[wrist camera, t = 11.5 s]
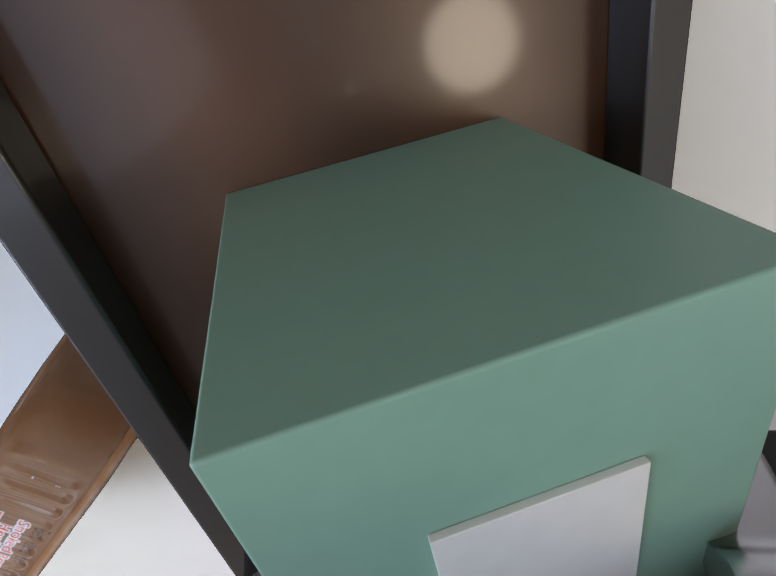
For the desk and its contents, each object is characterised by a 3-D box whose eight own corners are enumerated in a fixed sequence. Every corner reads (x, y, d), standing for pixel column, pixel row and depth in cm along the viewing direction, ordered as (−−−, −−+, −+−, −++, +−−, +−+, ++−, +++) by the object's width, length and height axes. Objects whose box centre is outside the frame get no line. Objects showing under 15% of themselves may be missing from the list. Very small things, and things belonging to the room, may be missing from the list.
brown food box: (71, 482, 22) (-36, 710, 15) (-5, 460, 21) (-162, 698, 14) (243, 235, 18) (208, 395, 10) (160, 186, 16) (52, 331, 9)
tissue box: (360, 526, 15) (425, 832, 9) (225, 193, 9) (184, 477, 4) (528, 465, 15) (684, 721, 10) (501, 116, 10) (839, 257, 4)
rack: (297, 481, 25) (321, 724, 16) (12, -112, 12) (-531, -396, 4) (515, 406, 26) (642, 596, 18) (460, -204, 13) (820, -575, 5)
